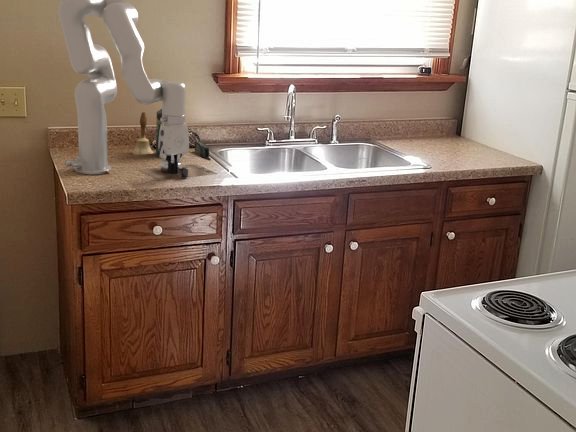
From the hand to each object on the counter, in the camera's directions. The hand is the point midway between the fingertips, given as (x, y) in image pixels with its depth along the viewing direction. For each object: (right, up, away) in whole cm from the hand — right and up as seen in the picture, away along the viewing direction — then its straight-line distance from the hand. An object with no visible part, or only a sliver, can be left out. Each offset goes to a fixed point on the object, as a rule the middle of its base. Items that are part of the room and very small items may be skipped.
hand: (172, 173), depth 237 cm
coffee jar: (-7, +8, +30) cm, 32 cm away
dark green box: (+6, +9, +37) cm, 39 cm away
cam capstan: (0, +1, +4) cm, 4 cm away
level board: (+1, 0, +7) cm, 7 cm away
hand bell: (-17, +10, +35) cm, 40 cm away
